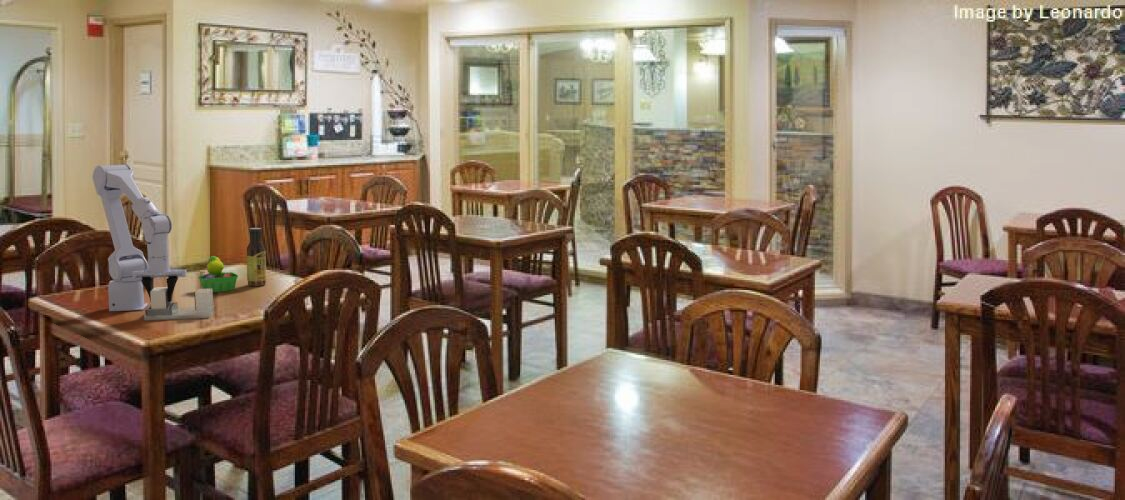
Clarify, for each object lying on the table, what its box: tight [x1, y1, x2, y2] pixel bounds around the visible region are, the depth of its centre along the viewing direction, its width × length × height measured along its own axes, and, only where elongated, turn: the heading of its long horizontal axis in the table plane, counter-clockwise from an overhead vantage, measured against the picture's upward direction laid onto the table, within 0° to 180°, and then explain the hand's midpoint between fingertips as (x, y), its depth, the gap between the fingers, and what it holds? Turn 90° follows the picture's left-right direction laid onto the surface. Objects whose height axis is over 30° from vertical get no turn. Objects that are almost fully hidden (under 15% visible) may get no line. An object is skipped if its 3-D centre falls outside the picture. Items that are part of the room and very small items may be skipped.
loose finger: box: [150, 286, 172, 309], centre depth 269 cm, size 4×6×6 cm
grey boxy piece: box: [143, 288, 216, 321], centre depth 271 cm, size 18×10×7 cm, turn 103°
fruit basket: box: [197, 255, 239, 293], centre depth 306 cm, size 11×9×11 cm
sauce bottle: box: [246, 227, 267, 287], centre depth 314 cm, size 7×6×20 cm
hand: (161, 301), depth 269 cm, fingers closed on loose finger, 4 cm apart
